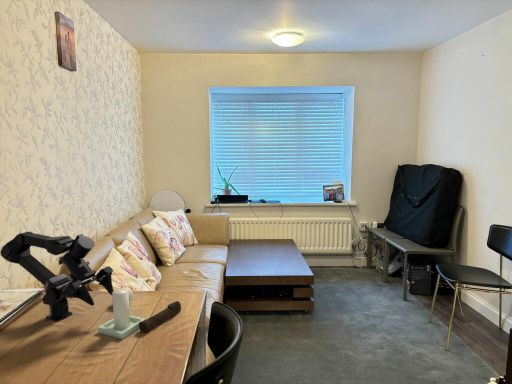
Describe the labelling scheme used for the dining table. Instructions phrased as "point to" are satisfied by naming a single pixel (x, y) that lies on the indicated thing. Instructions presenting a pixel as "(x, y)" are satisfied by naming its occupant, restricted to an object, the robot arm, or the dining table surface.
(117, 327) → the white rounded tapered cylinder
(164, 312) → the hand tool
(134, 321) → the tray
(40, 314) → the dining table surface
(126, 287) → the white ball
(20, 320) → the dining table surface
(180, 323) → the dining table surface
